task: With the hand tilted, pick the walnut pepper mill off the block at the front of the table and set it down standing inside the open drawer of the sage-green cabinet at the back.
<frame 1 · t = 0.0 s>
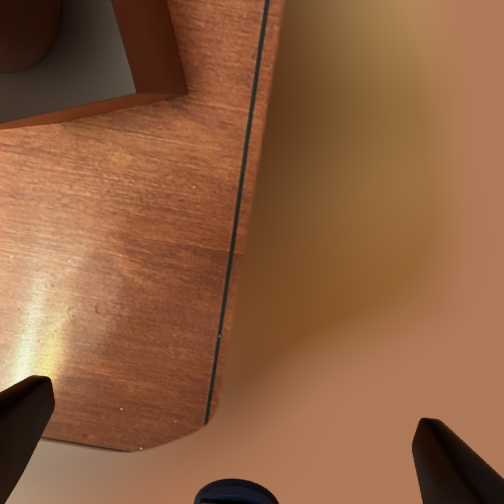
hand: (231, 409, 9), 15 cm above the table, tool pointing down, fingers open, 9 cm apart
block: (97, 30, 20), on the table
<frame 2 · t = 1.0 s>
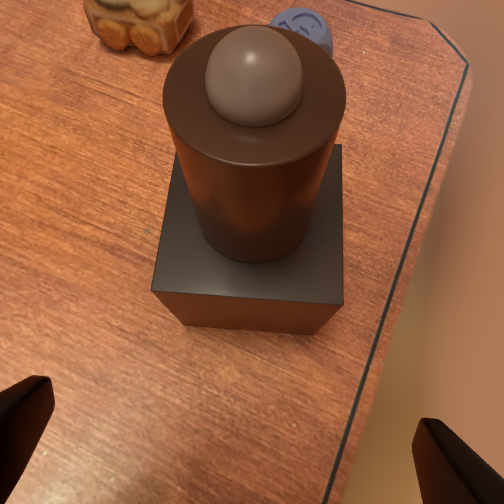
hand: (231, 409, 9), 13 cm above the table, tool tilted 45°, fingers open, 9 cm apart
pepper mill: (253, 211, 17), point 8 cm above the table, touching block
block: (253, 268, 24), on the table
decorative dice: (293, 73, 31), on the table
ornament: (148, 35, 32), on the table
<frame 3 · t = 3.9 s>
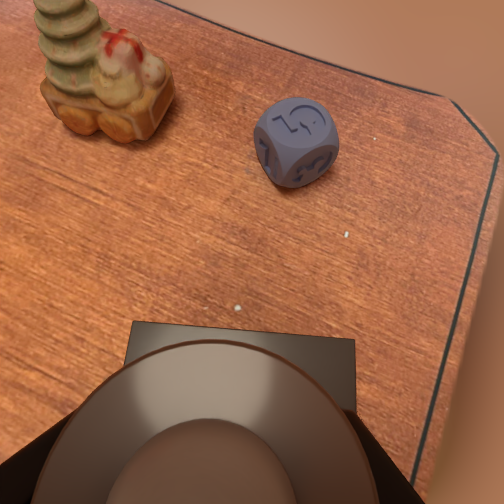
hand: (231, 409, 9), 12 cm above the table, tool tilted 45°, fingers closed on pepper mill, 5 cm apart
pepper mill: (230, 455, 12), point 8 cm above the table, touching gripper, block
block: (239, 436, 19), on the table
decorative dice: (291, 164, 26), on the table
ornament: (122, 114, 27), on the table
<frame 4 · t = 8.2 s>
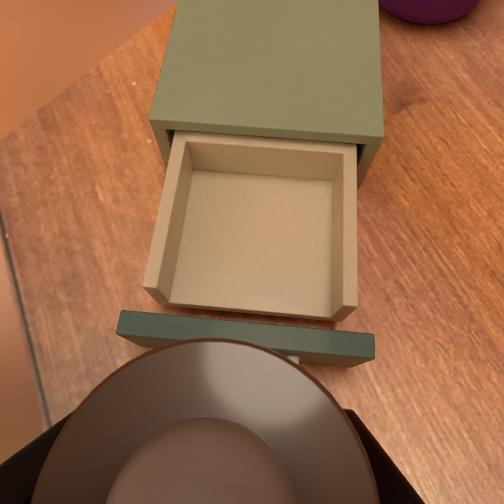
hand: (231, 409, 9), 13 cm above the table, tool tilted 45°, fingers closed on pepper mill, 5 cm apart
pepper mill: (231, 454, 12), point 10 cm above the table, touching gripper
drawer: (252, 275, 21), point 3 cm above the table, slide at 11.0 cm
cabinet: (269, 111, 30), on the table
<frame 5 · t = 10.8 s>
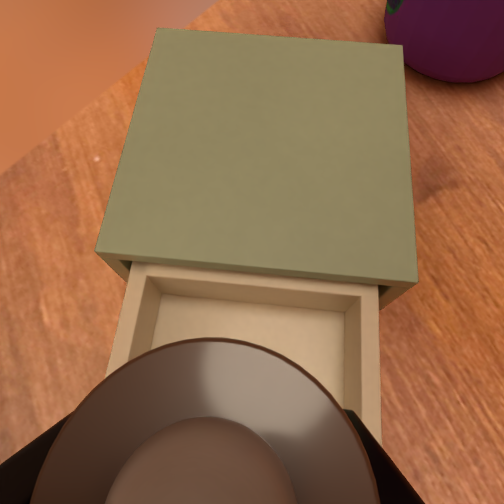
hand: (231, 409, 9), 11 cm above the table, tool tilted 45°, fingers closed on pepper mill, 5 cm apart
pepper mill: (230, 454, 12), point 7 cm above the table, touching gripper
drawer: (234, 471, 15), point 3 cm above the table, slide at 11.0 cm
cabinet: (264, 199, 24), on the table
mug: (443, 17, 30), on the table
when the fingers open (6 cm above the table, at t = 12.7 s): pepper mill stays where it is, resting on drawer.
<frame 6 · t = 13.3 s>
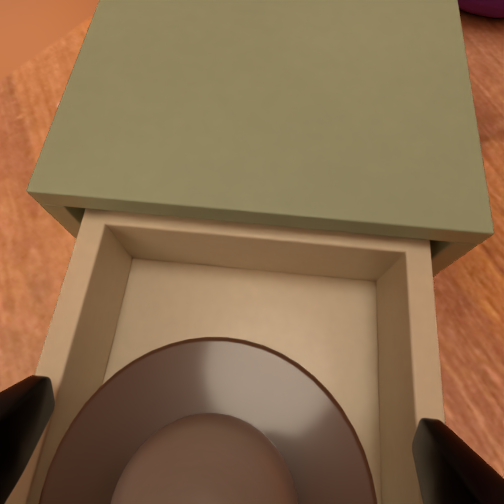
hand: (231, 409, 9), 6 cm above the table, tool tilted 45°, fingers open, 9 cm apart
pepper mill: (232, 452, 12), point 2 cm above the table, touching drawer
drawer: (226, 501, 11), point 3 cm above the table, slide at 10.8 cm, touching pepper mill
cabinet: (267, 151, 19), on the table
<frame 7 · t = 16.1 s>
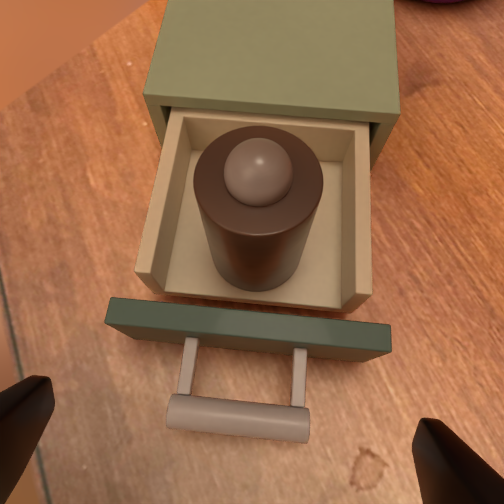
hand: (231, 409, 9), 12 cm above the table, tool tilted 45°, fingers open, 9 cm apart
pepper mill: (256, 249, 21), point 2 cm above the table, touching drawer
drawer: (255, 261, 20), point 3 cm above the table, slide at 10.8 cm, touching pepper mill
cabinet: (273, 93, 28), on the table
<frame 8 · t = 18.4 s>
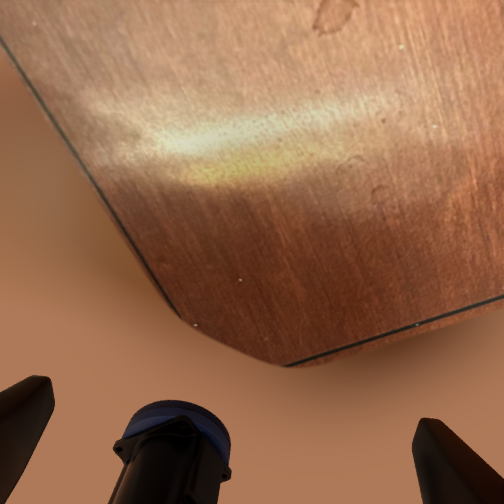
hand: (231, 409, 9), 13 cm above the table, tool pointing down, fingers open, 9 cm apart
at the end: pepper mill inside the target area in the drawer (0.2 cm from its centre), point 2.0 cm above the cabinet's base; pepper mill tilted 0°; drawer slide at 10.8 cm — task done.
